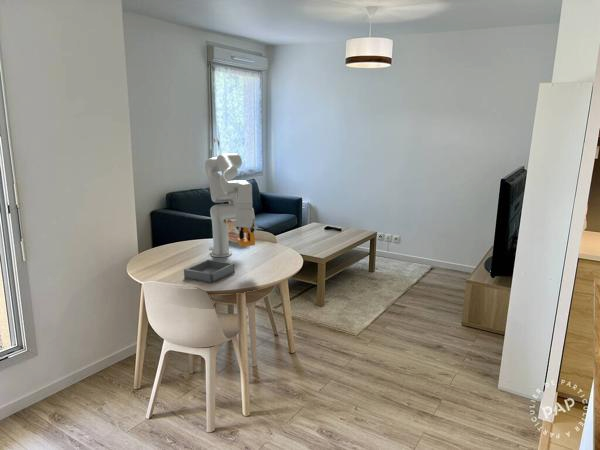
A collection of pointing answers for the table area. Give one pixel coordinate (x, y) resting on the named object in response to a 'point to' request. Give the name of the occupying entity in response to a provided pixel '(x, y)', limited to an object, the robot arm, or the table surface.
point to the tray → (209, 271)
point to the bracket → (245, 240)
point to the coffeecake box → (232, 230)
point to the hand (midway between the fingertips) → (246, 239)
